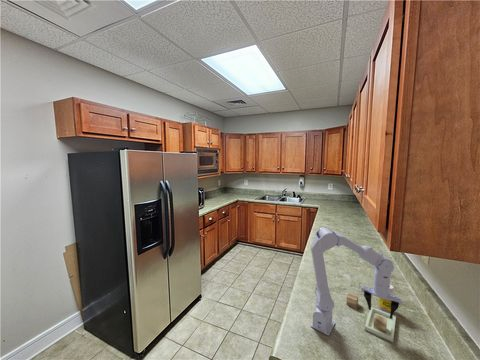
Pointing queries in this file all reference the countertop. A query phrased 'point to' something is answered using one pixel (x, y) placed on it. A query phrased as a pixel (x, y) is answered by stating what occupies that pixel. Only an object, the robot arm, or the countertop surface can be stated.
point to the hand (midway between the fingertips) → (380, 312)
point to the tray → (390, 324)
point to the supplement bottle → (386, 302)
